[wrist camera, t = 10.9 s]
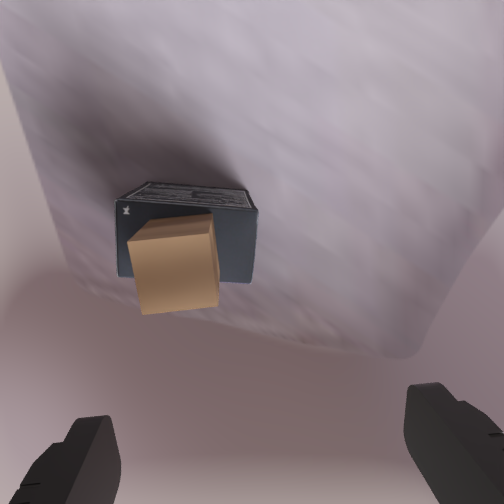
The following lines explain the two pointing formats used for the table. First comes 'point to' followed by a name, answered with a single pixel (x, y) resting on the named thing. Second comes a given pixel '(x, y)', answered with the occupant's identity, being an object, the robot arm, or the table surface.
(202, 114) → the table surface
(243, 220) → the small box
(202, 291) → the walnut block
